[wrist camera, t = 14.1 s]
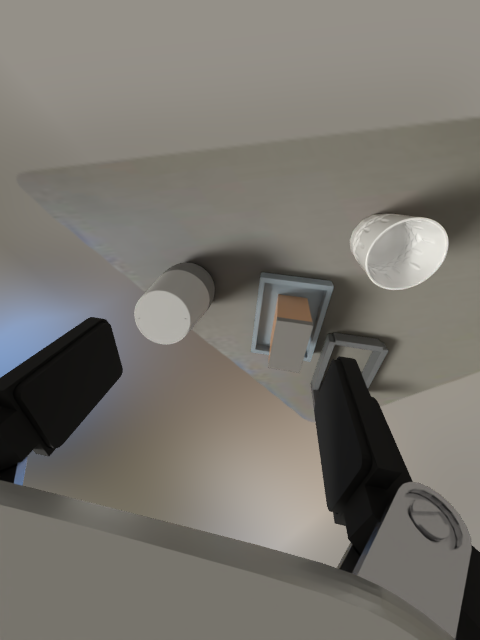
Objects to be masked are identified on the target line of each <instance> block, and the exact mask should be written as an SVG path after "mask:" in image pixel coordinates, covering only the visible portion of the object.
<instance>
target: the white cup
mask: <svg viewBox="0 0 480 640" xmlns="http://www.w3.org/2000/svg"><path fill="white" fill-rule="evenodd" d="M448 246H449V240H448V235H447V233H446V231H445V229H444V228H443V227H442V226H441V225H440V224H439V223H438V222H436V221H434V220H432V219H429V218H423V217H416V216H408V215H400V214H375V215H371V216H370V217H368V218H366V219H364V220H362V221H361V222H360V223H359V224H358V226H357V227H356V228H355V229H354V230H353V233H352V236H351V239H350V248H351V252H352V253H353V254H354V256H355V258H356V260H357V262H358V263H359V265H360V266H361V268H362V269H363V270H364V271H365V273H366V274H367V275H368V277H369V278H370V279H371V281H372V282H373V283H375V284H376V285H378V286H379V287H382V288H385V289H390V290H401V289H407V288H410V287H413V286H416V285H418V284H420V283H422V282H423V281H425V280H426V279H428V278H429V277H430V276H432V275H433V274H434V273H435V272H436V271H437V270H438V268H439V267H440V266H441V264H442V263H443V261H444V259H445V257H446V255H447V252H448Z"/></svg>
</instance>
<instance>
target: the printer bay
mask: <svg viewBox="0 0 480 640" xmlns="http://www.w3.org/2000/svg"><path fill="white" fill-rule="evenodd" d="M334 345H340V346H347V347H353V348H360V349H366V350H373V351H372V353H371V355H370V357H369V360H368V362H367V364H366V366H365V368H364V370H363V372H362V376H363V379H364V381H365V383H366V386H367V388H369V386H370V384H371V382H372V380H373V379H374V377H375V375H376V373H377V371H378V369H379V367H380V365H381V364H382V362H383V360H384V358H385V356H386V354H387V352H388V349H387V347H386V346H385V344H384V343H383V342H380V341H379V339H375V338H368V337H361V336H354V335H348V334H341V333H333V335H332V334H327V337H326V340H325V343H324V346H323V349H322V352H321V355H320V358H319V361H318V363H317V366H316V369H315V372H314V375H313V378H312V381H311V391H312V398H313V405H314V409H315V403H316V401H317V398H318V395H319V393H320V390H321V387H322V385H323V383H322V382H321V381H322V378H323V375H324V372H325V370H326V367H327V364H328V362H329V359H330V356H331V353H332V351H333V348H334Z"/></svg>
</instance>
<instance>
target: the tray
mask: <svg viewBox="0 0 480 640" xmlns="http://www.w3.org/2000/svg"><path fill="white" fill-rule="evenodd" d="M333 288H334V286H333V284H332V282H331V281H328V280H320V279H312V278H304V277H296V276H288V275H280V274H272V273H264V272H261V276H260V283H259V291H258V299H257V307H256V315H255V323H254V331H253V339H252V347H251V352H254V353H260V354H266V355H269V351H270V339H271V332H272V326H273V321H274V315H275V309H276V304H277V298H278V294H281V295H288V296H295V297H303V298H307V299H308V304H309V308H310V313H311V318H312V322H313V328H312V332H311V335H310V339H309V342H308V345H307V349H306V352H305V356H304V359H303V361H309V362H310V361H311V358H312V355H313V352H314V349H315V345H316V342H317V339H318V336H319V333H320V330H321V326H322V323H323V320H324V317H325V314H326V310H327V307H328V304H329V301H330V298H331V294H332V291H333Z"/></svg>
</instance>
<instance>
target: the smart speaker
mask: <svg viewBox="0 0 480 640" xmlns="http://www.w3.org/2000/svg"><path fill="white" fill-rule="evenodd" d="M214 293H215V287H214V282H213V280H212V278H211V276H210V275H209V273H208V272H207V271H206V270H205V269H204V268H202V267H201V266H199V265H196V264H193V263H180V264H177V265H174V266H172V267H171V268H169V269H168V270H167V271H165V272H164V273H163V274H162V275H161V276H160V277H159V278H158V279H157V280H156V281H155V283H154V284H153V285H152V286H151V287H150V288H149V289H148V290H147V291H146V293H145V294H144V295H143V296H142V297H141V298H140V299H139V301H138V302H137V305H136V307H135V314H134V315H135V321H136V324H137V327H138V328H139V330H140V331H141V333H142V334H143V335H144V336H145V337H146V338H148V339H149V340H151V341H153V342H155V343H159V344H173V343H176V342H178V341H180V340H181V339H182V338H184V337H185V336H186V335H187V333H188V332H189V331H190V330H191V329H192V328H193V326H194V325H195V324H196V323H197V322H198V321H199V319H200V318H201V317H202V316H203V315H204V313H205V312H206V311H207V310H208V308H209V307H210V305H211V303H212V301H213V298H214Z"/></svg>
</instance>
